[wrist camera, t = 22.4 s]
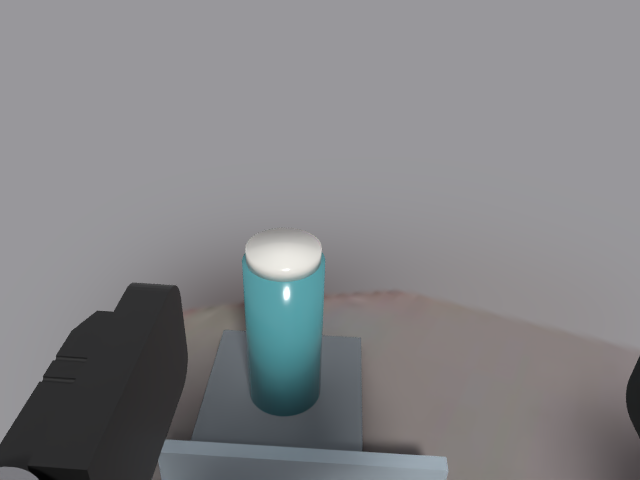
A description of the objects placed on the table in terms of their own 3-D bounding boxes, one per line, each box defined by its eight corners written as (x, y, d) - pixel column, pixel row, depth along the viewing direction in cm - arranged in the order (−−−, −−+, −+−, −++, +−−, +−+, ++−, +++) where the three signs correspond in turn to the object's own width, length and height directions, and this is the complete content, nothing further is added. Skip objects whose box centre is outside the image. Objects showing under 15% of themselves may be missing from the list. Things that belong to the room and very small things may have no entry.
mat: (360, 346, 51) (360, 337, 50) (361, 473, 40) (362, 463, 39) (224, 338, 51) (223, 329, 51) (188, 461, 40) (187, 452, 40)
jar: (322, 365, 47) (327, 228, 40) (318, 418, 42) (323, 273, 36) (255, 361, 47) (249, 224, 40) (243, 413, 43) (234, 268, 36)
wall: (437, 497, 38) (446, 457, 36) (439, 511, 37) (448, 470, 35) (168, 479, 39) (161, 439, 37) (163, 493, 38) (156, 452, 36)
